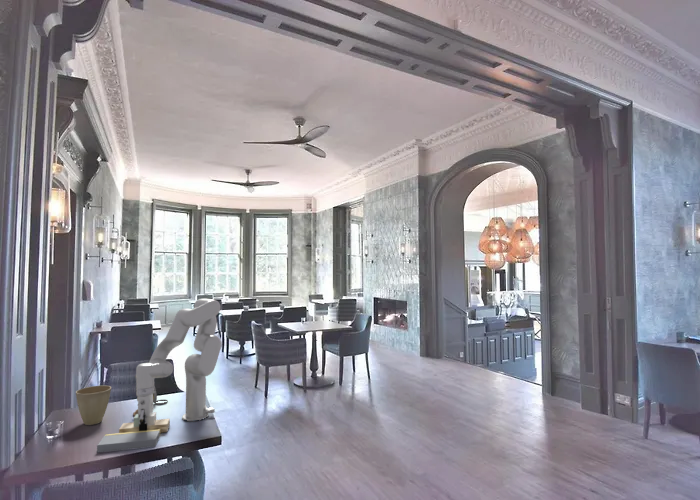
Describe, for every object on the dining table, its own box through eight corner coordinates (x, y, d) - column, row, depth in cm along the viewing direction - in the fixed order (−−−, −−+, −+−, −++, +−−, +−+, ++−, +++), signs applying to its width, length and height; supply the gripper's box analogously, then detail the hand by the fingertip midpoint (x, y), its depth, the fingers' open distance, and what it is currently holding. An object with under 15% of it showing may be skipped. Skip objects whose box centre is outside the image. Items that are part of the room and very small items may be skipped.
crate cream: (156, 420, 193) (156, 412, 193) (154, 424, 188) (154, 415, 189) (146, 421, 192) (146, 413, 192) (144, 425, 187) (144, 416, 188)
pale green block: (145, 421, 192) (145, 413, 192) (143, 425, 187) (143, 417, 187) (136, 422, 191) (136, 414, 191) (133, 426, 186) (133, 418, 186)
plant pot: (117, 418, 207) (118, 386, 207) (91, 429, 192) (92, 395, 193) (94, 415, 211) (94, 384, 211) (67, 426, 196) (68, 392, 197)
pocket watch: (170, 402, 232) (170, 384, 233) (158, 406, 224) (159, 388, 225) (158, 400, 235) (159, 382, 235) (147, 405, 227) (147, 386, 227)
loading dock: (160, 436, 185) (160, 429, 185) (155, 446, 174) (155, 439, 174) (105, 441, 179) (105, 434, 179) (96, 452, 168) (97, 444, 168)
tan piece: (169, 425, 196) (169, 418, 196) (167, 431, 189) (167, 424, 189) (123, 431, 190) (123, 423, 191) (119, 437, 184) (119, 429, 184)
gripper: (150, 395, 183) (149, 436, 182) (157, 384, 200) (157, 421, 199) (131, 397, 181) (131, 438, 180) (140, 386, 198) (140, 423, 197)
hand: (144, 429), depth 190 cm, fingers closed on tan piece, 7 cm apart
